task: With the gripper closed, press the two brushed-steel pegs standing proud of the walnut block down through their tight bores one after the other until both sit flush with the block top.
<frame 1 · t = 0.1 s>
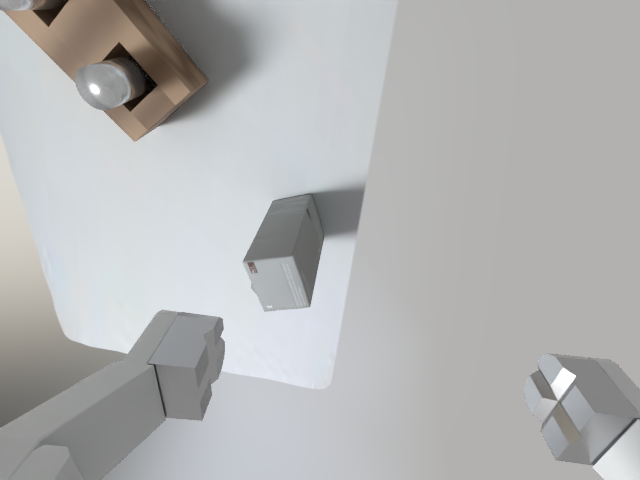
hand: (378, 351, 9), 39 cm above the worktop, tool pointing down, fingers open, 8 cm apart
walnut block: (116, 30, 39), on the worktop
skincare box: (296, 217, 53), on the worktop
steel peg 1: (113, 82, 34), point 8 cm above the worktop, slide at 5.0 cm
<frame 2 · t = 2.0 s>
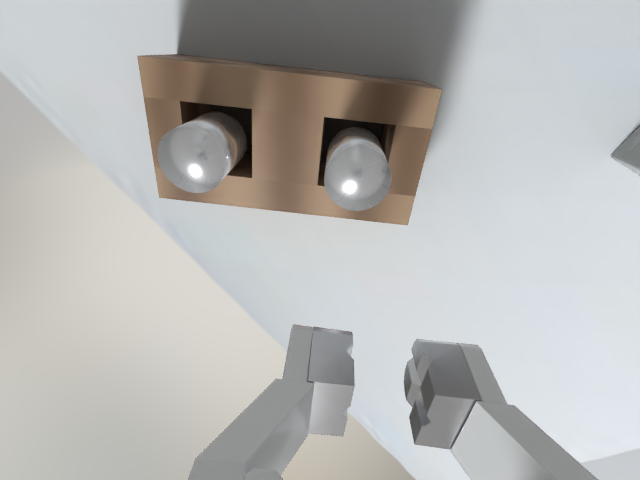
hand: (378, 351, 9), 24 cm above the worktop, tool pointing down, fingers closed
walnut block: (295, 131, 30), on the worktop
steel peg 2: (207, 149, 22), point 8 cm above the worktop, slide at 5.0 cm
steel peg 1: (355, 166, 22), point 8 cm above the worktop, slide at 5.0 cm
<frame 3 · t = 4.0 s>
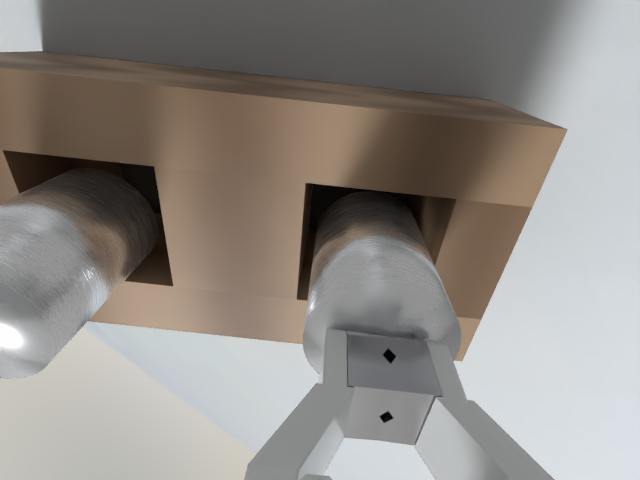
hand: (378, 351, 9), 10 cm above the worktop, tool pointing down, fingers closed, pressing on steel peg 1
walnut block: (264, 181, 17), on the worktop
steel peg 2: (51, 259, 10), point 8 cm above the worktop, slide at 5.0 cm
steel peg 1: (371, 280, 11), point 8 cm above the worktop, slide at 4.3 cm, touching gripper
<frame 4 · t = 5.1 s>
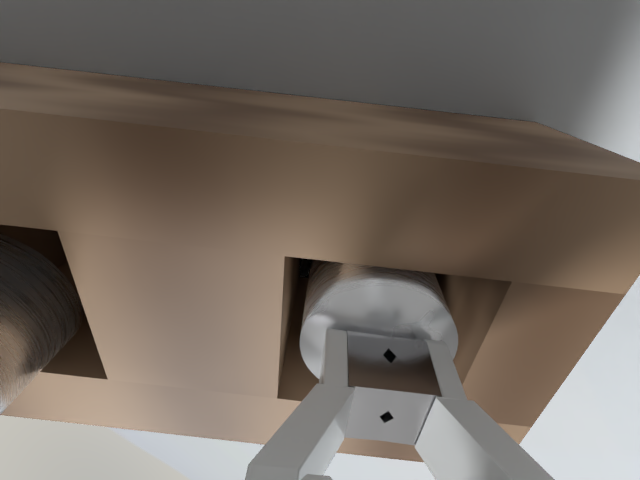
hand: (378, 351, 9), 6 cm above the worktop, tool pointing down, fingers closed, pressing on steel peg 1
walnut block: (242, 221, 14), on the worktop
steel peg 1: (369, 282, 11), point 3 cm above the worktop, slide at 0.0 cm, touching gripper
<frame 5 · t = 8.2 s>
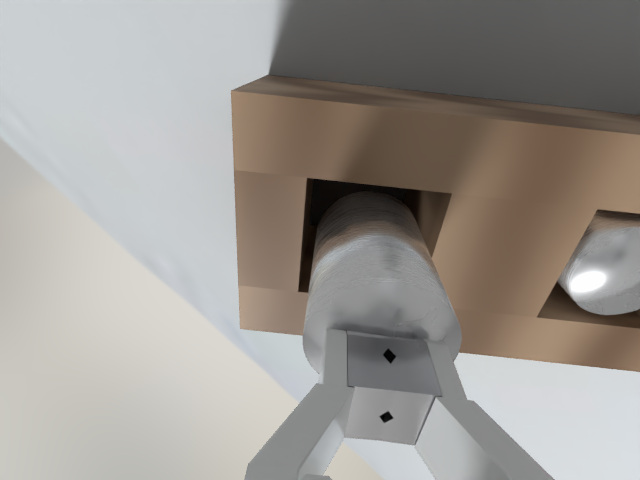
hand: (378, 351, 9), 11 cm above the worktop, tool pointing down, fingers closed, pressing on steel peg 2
walnut block: (452, 198, 18), on the worktop
steel peg 2: (371, 280, 11), point 8 cm above the worktop, slide at 4.8 cm, touching gripper
steel peg 1: (583, 239, 15), point 3 cm above the worktop, slide at 0.0 cm
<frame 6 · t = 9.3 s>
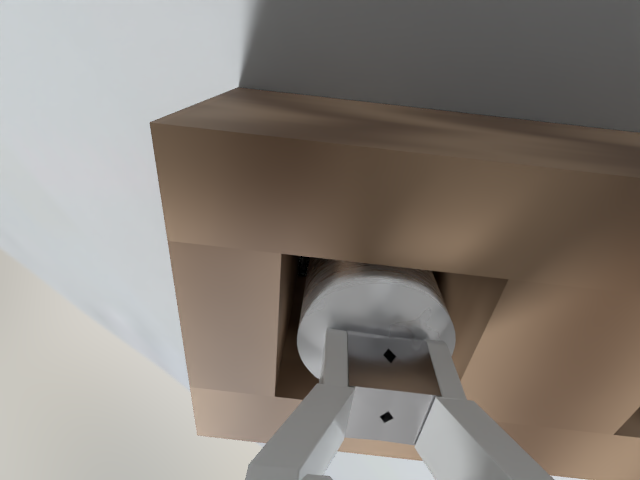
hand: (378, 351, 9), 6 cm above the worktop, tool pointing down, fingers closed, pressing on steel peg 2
walnut block: (483, 247, 14), on the worktop
steel peg 2: (367, 281, 11), point 3 cm above the worktop, slide at 0.0 cm, touching gripper
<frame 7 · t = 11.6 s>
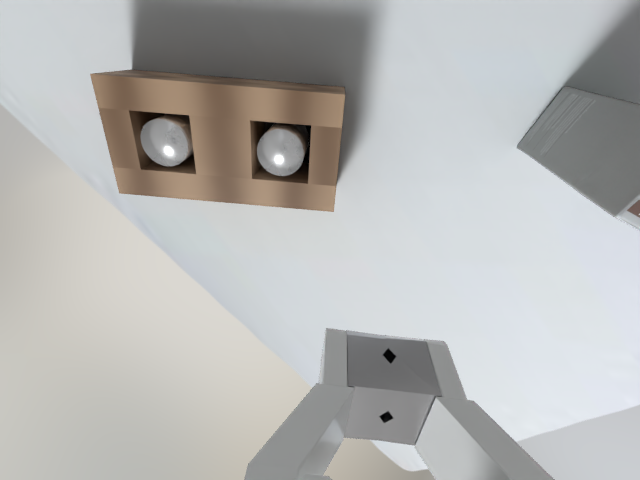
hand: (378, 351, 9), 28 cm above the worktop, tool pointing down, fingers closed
walnut block: (240, 133, 34), on the worktop
skincare box: (565, 137, 33), on the worktop
steel peg 2: (177, 136, 31), point 3 cm above the worktop, slide at 0.0 cm
steel peg 1: (285, 145, 31), point 3 cm above the worktop, slide at 0.0 cm
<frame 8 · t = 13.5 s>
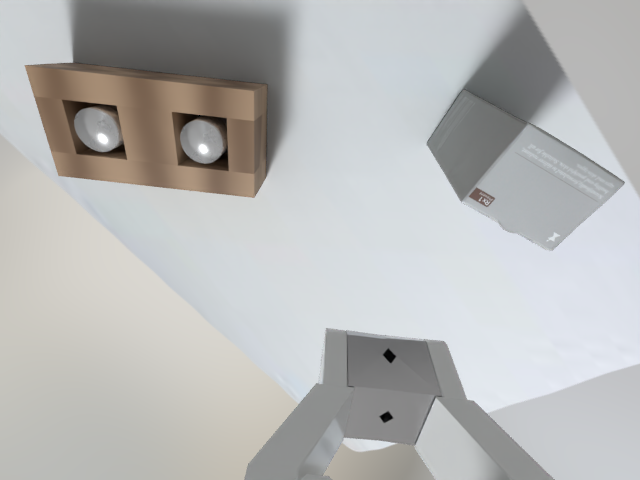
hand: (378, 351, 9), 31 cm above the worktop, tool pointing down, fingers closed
walnut block: (175, 124, 37), on the worktop
skincare box: (469, 136, 36), on the worktop
steel peg 2: (113, 124, 34), point 3 cm above the worktop, slide at 0.0 cm
steel peg 1: (211, 135, 34), point 3 cm above the worktop, slide at 0.0 cm
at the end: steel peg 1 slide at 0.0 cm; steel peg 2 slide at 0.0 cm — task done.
